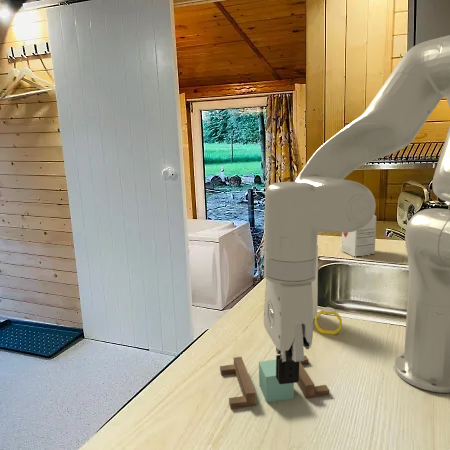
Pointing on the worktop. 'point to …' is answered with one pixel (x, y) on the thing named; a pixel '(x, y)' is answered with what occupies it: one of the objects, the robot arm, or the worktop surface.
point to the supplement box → (360, 240)
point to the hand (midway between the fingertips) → (287, 380)
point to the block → (273, 383)
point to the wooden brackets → (248, 389)
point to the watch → (329, 312)
